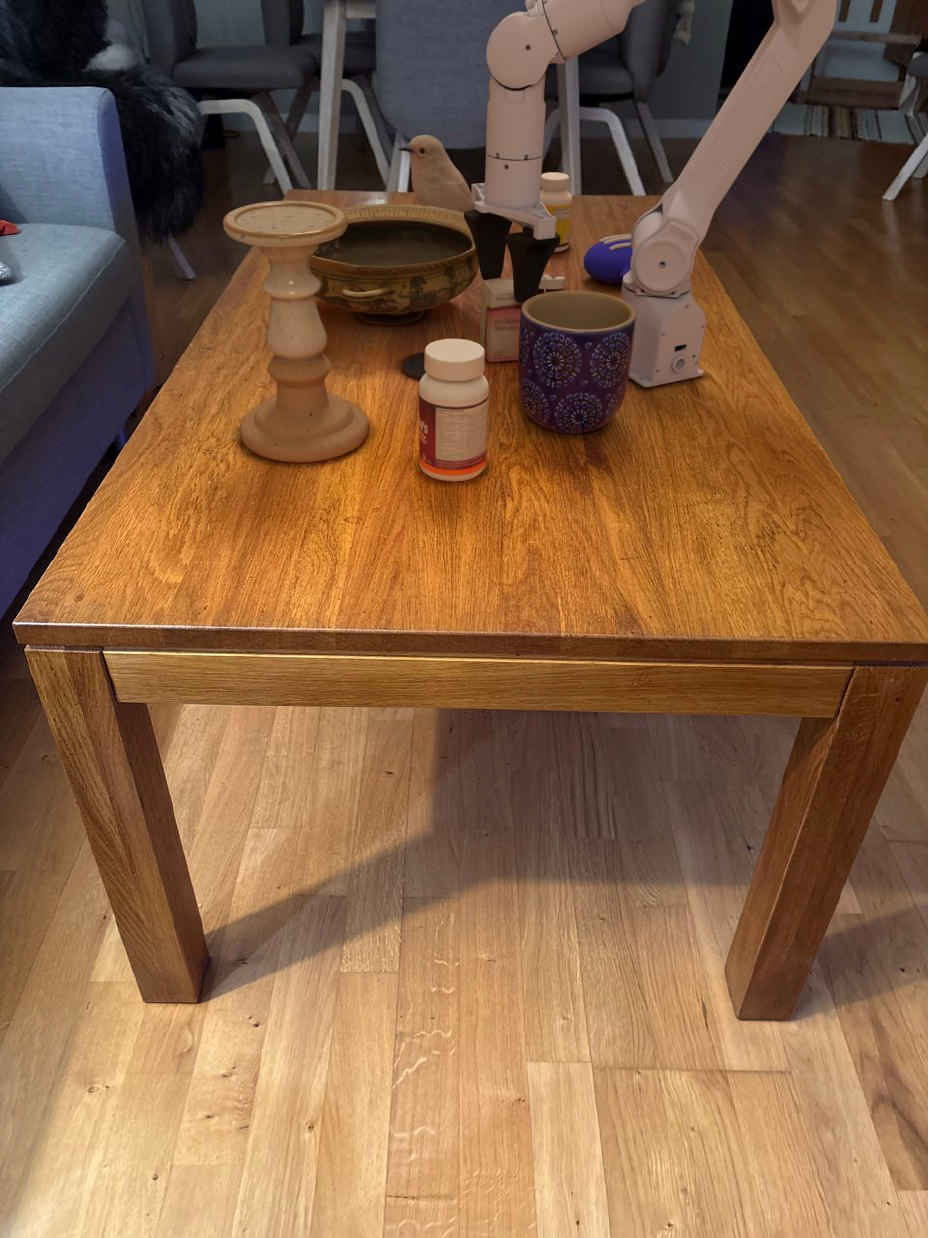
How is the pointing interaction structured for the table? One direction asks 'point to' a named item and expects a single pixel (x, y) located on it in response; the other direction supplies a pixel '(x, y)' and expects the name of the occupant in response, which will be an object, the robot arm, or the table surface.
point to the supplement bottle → (558, 204)
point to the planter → (574, 358)
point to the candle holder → (296, 337)
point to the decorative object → (609, 259)
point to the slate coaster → (414, 365)
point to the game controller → (551, 282)
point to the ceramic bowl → (396, 261)
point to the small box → (499, 320)
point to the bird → (436, 176)
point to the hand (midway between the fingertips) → (507, 289)
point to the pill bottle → (453, 410)
